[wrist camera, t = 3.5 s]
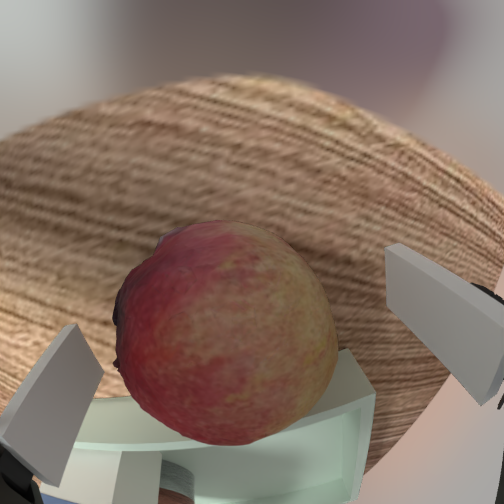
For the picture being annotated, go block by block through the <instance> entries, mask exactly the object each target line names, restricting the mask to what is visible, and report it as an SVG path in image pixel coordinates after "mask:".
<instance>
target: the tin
mask: <svg viewBox="0 0 504 504" xmlns="http://www.w3.org/2000/svg"><path fill="white" fill-rule="evenodd" d="M158 504H195V478H194V475H193V474H192V473H191V472H190V471H189V470H187V469H186V468H184V467H182V466H180V465H178V464H175V463H173V462H170V461H166V460H163V459H162V462H161V472H160V483H159V495H158Z"/></svg>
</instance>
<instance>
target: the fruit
mask: <svg viewBox="0 0 504 504" xmlns="http://www.w3.org/2000/svg"><path fill="white" fill-rule="evenodd" d="M112 320H113V322H114V325H115V326H117V329H116V337H117V340H116V355H117V359H116V360H115V361H114V362H113V365H114V367H116V368H118V370H117V371H119V372H120V374H121V376H122V377H123V379H124V383H125V386H126V387H127V389H128V391H129V392H130V394H131V396H132V398H133V399H134V400H135V401H136V402H137V403H138V404H139V405H140V408H141V409H142V410H143V411H145V412H147V413H148V414H150V415H151V416H152V417H153V418H155V419H157V420H158V421H159V422H162V423H163V424H164V425H165V426H167V427H168V428H170V429H172V430H174V431H176V432H178V433H180V434H181V435H182V436H184V437H187V438H190V439H193V440H195V441H198V442H201V443H205V444H208V445H218V446H241V445H248V444H251V443H253V442H255V441H258V440H260V439H263V438H265V437H268V436H271V435H273V434H276V433H278V432H280V431H282V430H284V429H286V428H287V427H289V426H290V425H292V424H293V423H295V422H297V421H298V420H300V419H301V418H303V417H304V416H305V415H307V414H308V412H309V411H310V410H311V409H312V408H313V407H314V405H315V404H316V403H317V402H318V401H319V399H320V398H321V397H322V395H323V394H324V392H325V391H326V389H327V387H328V385H329V383H330V381H331V379H332V376H333V373H334V370H335V367H336V364H337V361H338V338H337V333H336V328H335V323H334V319H333V316H332V313H331V309H330V304H329V301H328V298H327V295H326V293H325V291H324V288H323V286H322V284H321V283H320V281H319V279H318V278H317V276H316V275H315V273H314V272H313V270H312V269H311V268H310V266H309V265H308V264H307V263H306V261H305V260H304V258H303V257H302V256H300V255H299V254H298V253H297V252H296V251H295V250H294V249H293V248H292V247H291V246H290V245H289V244H288V243H287V242H286V241H284V240H283V239H281V238H280V237H278V236H277V235H275V234H274V233H271V232H269V231H267V230H265V229H261V228H258V227H255V226H252V225H249V224H246V223H242V222H237V221H225V220H215V221H210V222H204V223H198V224H193V225H189V226H185V227H177V228H175V229H173V230H172V231H170V232H168V233H167V234H165V235H163V236H162V237H160V239H159V242H158V244H157V247H156V250H155V252H154V254H153V256H152V257H150V258H148V259H146V260H145V261H143V263H142V264H141V265H139V266H137V267H136V268H134V269H132V270H131V271H130V273H129V274H128V276H127V277H126V279H125V281H124V283H123V285H122V287H121V289H120V290H119V292H118V294H117V297H116V301H115V308H114V311H113V317H112Z"/></svg>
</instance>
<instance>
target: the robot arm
mask: <svg viewBox="0 0 504 504" xmlns="http://www.w3.org/2000/svg"><path fill="white" fill-rule="evenodd" d="M384 251H385V270H386V306H387V307H388V308H389V309H390V310H391V311H392V312H393V313H394V314H395V315H396V316H397V317H398V318H399V319H400V320H401V321H402V322H403V323H404V324H405V325H406V326H407V327H408V328H409V329H410V330H411V331H412V332H413V333H414V334H415V335H416V336H417V337H418V338H419V339H420V340H421V341H422V342H423V343H424V345H425V346H426V347H427V348H428V349H429V350H430V351H431V352H432V353H433V354H434V355H435V356H436V357H437V358H438V359H439V360H440V361H441V363H442V364H443V365H444V366H445V367H446V368H447V369H448V370H449V371H450V372H451V373H452V374H453V376H454V377H455V378H456V379H457V380H458V381H459V382H460V383H461V384H462V386H463V387H464V388H465V389H466V390H467V391H468V392H469V393H470V395H471V396H472V397H473V398H474V399H475V400H476V402H477V403H478V404H479V405H480V406H482V405H483V404H484V403H486V402H487V401H488V400H490V398H492V397H493V396H495V395H496V394H497V392H498V390H499V388H500V386H501V384H502V382H503V380H504V300H503V299H502V298H501V297H500V296H498V295H497V294H496V295H495V294H494V292H492V291H490V290H489V289H487V288H486V287H484V286H481V285H478V284H474V283H469V282H467V281H465V280H464V279H462V278H460V277H459V276H457V275H455V274H454V273H452V272H450V271H449V270H447V269H445V268H444V267H442V266H440V265H439V264H437V263H435V262H433V261H432V260H430V259H428V258H426V257H425V256H423V255H421V254H419V253H417V252H416V251H414V250H412V249H410V248H408V247H406V246H405V245H403V244H401V243H397V244H394V245H390V246H387V247H384ZM103 374H104V370H103V369H102V367H101V365H100V364H99V362H98V361H97V359H96V357H95V356H94V354H93V352H92V350H91V349H90V347H89V345H88V343H87V342H86V340H85V338H84V336H83V334H82V333H81V331H80V329H79V327H78V325H77V323H76V324H71V325H66V326H64V327H63V329H62V330H61V331H60V332H59V334H58V335H57V336H56V337H55V339H54V340H53V341H52V342H51V344H50V345H49V346H48V348H47V349H46V350H45V352H44V353H43V354H42V356H41V357H40V358H39V360H38V361H37V362H36V364H35V365H34V367H33V368H32V369H31V371H30V372H29V374H28V375H27V376H26V378H25V379H24V381H23V382H22V384H21V385H20V387H19V388H18V390H17V391H16V393H15V394H14V396H13V397H12V399H11V400H10V402H9V403H8V405H7V407H6V408H5V410H4V411H3V413H2V415H1V416H0V504H44V503H43V500H42V497H41V494H40V490H39V487H38V485H37V483H36V482H35V481H33V480H32V477H33V475H35V476H36V477H37V478H38V479H40V480H41V481H42V482H43V483H45V484H48V485H51V486H54V487H58V488H59V486H60V483H61V480H62V477H63V474H64V471H65V468H66V465H67V462H68V459H69V457H70V454H71V451H72V449H73V446H74V443H75V441H76V438H77V435H78V433H79V430H80V428H81V425H82V423H83V420H84V418H85V415H86V413H87V411H88V408H89V406H90V404H91V401H92V399H93V397H94V394H95V392H96V390H97V388H98V385H99V383H100V381H101V379H102V377H103ZM503 403H504V394H503V396H502V398H501V400H500V402H499V404H498V408H497V409H500V408H501V407H502V405H503ZM495 504H504V453H503V461H502V469H501V475H500V481H499V487H498V492H497V497H496V501H495Z"/></svg>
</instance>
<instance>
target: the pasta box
mask: <svg viewBox="0 0 504 504" xmlns="http://www.w3.org/2000/svg"><path fill="white" fill-rule="evenodd" d="M161 462H162V454H161V453H160V452H159V451H107V450H91V449H80V448H73V449H72V451H71V454H70V457H69V459H68V462H67V465H66V468H65V471H64V474H63V477H62V480H61V483H60V486H59V488H58V487H54V486H51V485H48V484H45V483H43V482H42V483H41V486H40V489H39V490H40V494H41V497H42V500H43V503H44V504H158V495H159V483H160V472H161Z"/></svg>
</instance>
